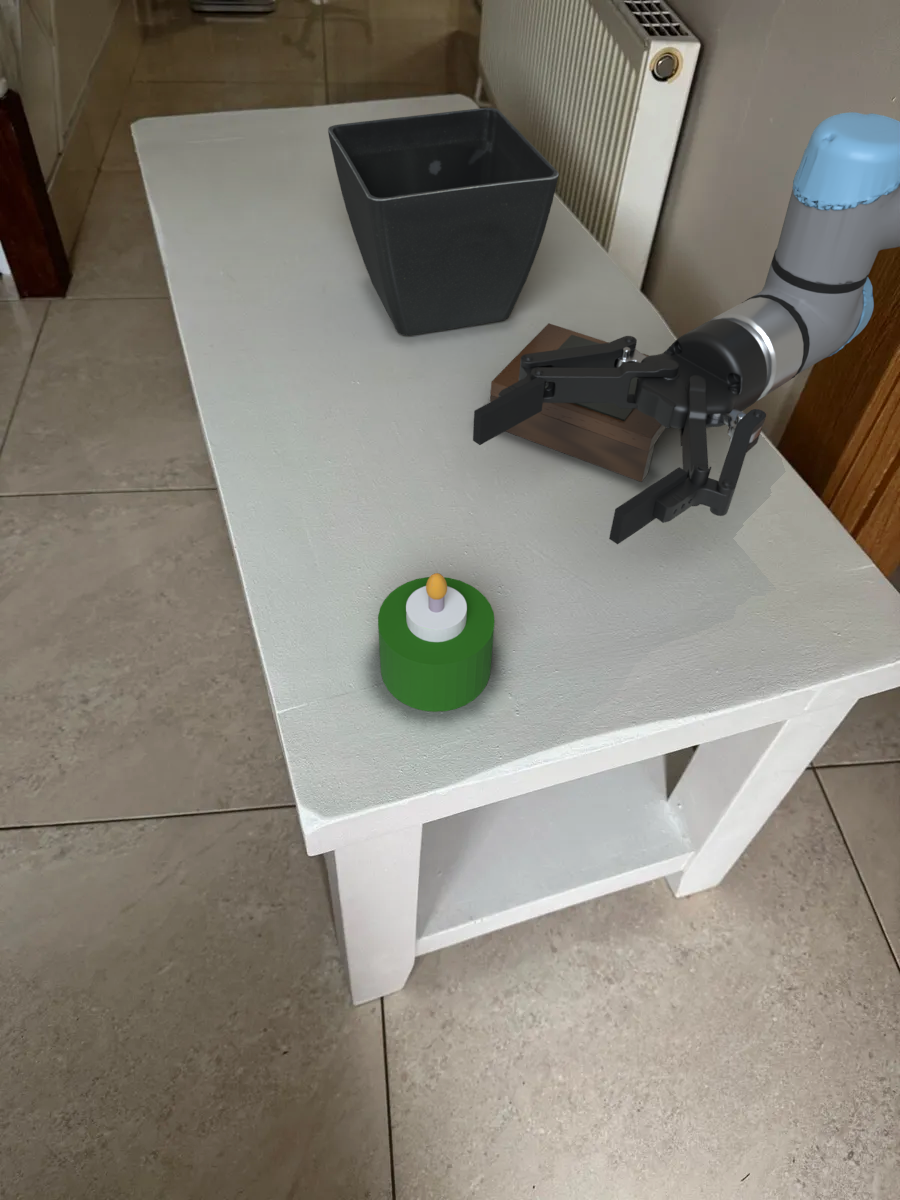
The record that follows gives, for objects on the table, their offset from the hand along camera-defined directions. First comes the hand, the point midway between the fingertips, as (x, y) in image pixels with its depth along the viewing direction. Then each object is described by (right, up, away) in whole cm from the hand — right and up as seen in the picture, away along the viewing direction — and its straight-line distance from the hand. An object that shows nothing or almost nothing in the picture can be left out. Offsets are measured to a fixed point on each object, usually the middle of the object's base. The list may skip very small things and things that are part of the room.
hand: (542, 475), depth 65 cm
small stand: (+7, +9, +26) cm, 29 cm away
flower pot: (-8, +25, +41) cm, 49 cm away
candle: (-8, -14, +5) cm, 17 cm away
